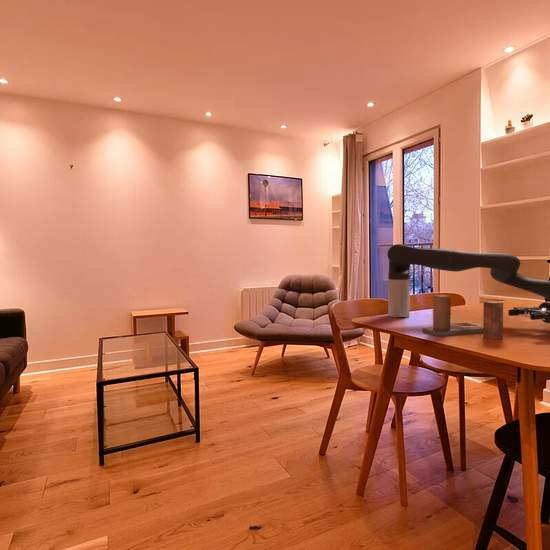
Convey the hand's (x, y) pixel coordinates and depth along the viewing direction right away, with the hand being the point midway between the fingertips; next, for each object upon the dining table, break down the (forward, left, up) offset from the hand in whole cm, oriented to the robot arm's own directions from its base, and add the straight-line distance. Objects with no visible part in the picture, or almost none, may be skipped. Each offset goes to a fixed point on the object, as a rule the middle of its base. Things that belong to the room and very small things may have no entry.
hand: (519, 314), depth 126 cm
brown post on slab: (-5, -20, -7) cm, 22 cm away
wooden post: (+4, -10, -7) cm, 13 cm away
